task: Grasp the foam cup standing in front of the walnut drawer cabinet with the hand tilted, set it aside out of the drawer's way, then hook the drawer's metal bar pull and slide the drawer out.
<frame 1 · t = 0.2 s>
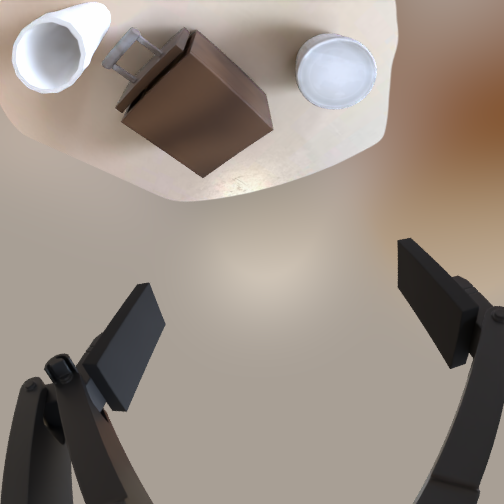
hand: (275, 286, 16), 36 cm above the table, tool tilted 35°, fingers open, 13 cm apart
ramekin: (327, 60, 38), on the table
foam cup: (90, 21, 29), on the table
cabinet: (201, 88, 41), on the table
drawer: (172, 83, 35), point 5 cm above the table, slide at 0.5 cm
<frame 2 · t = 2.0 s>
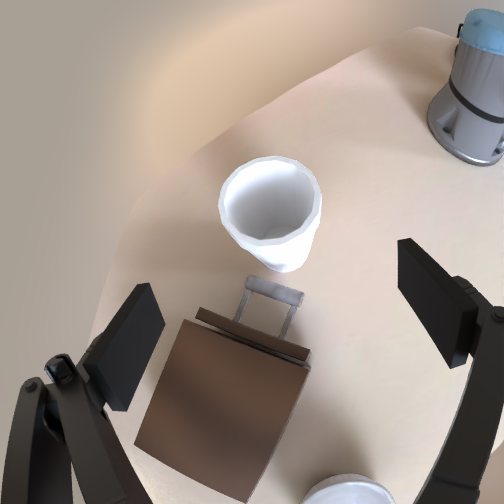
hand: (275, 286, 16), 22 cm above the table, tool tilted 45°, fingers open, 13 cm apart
ramekin: (342, 503, 27), on the table
foam cup: (284, 249, 40), on the table
cabinet: (238, 404, 34), on the table
drawer: (244, 368, 31), point 5 cm above the table, slide at 0.5 cm
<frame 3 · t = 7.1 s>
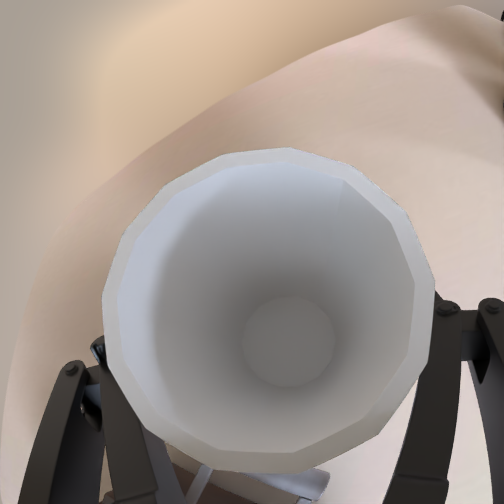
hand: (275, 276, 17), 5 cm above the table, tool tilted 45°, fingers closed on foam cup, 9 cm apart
foam cup: (289, 342, 20), on the table, touching gripper
when the fingers open (5 cm above the table, at t = 14.6 s): foam cup stays where it is, on the table.
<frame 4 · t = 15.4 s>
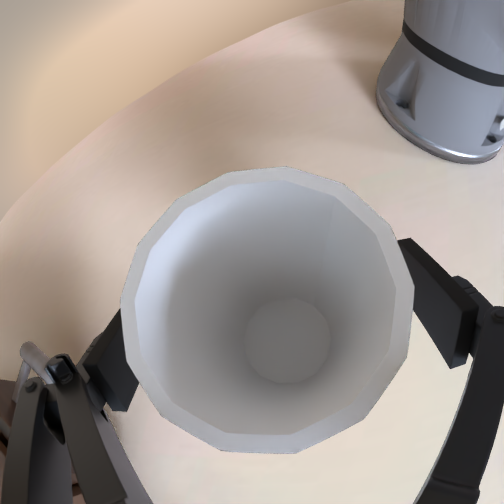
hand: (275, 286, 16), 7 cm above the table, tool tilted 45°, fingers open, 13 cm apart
foam cup: (287, 341, 21), on the table
cabinet: (58, 486, 19), on the table
drawer: (32, 458, 16), point 5 cm above the table, slide at 0.5 cm
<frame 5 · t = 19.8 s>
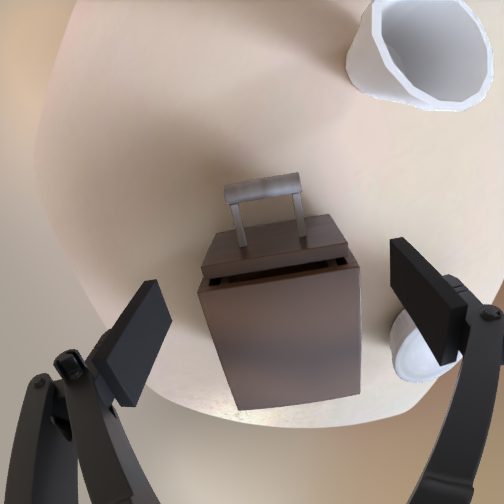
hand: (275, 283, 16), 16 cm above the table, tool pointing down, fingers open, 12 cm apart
ramekin: (420, 324, 36), on the table
foam cup: (375, 68, 25), on the table
cabinet: (285, 297, 35), on the table
drawer: (280, 278, 29), point 5 cm above the table, slide at 0.5 cm
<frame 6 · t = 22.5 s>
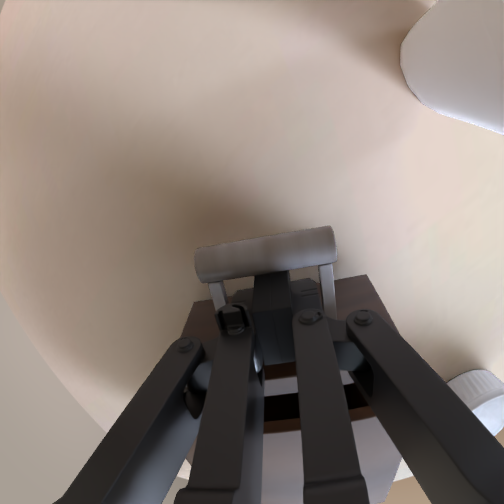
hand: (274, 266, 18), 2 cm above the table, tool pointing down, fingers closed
ramekin: (456, 397, 26), on the table
foam cup: (440, 68, 15), on the table
cabinet: (297, 386, 25), on the table
drawer: (291, 377, 18), point 5 cm above the table, slide at 1.8 cm, touching gripper
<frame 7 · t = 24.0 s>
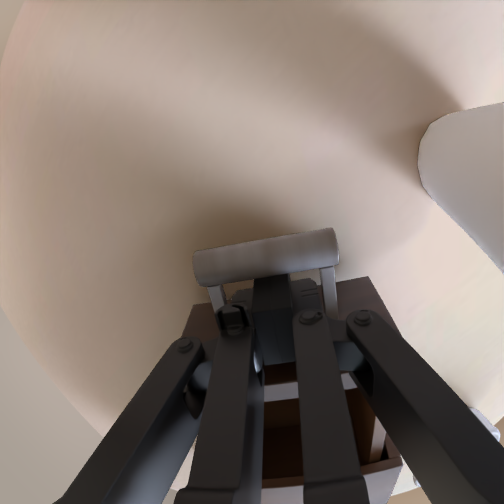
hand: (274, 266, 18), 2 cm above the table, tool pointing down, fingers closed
foam cup: (455, 161, 17), on the table
cabinet: (305, 429, 27), on the table
drawer: (292, 381, 18), point 5 cm above the table, slide at 8.1 cm
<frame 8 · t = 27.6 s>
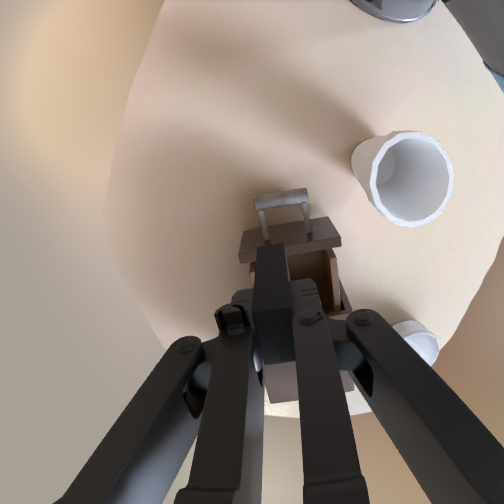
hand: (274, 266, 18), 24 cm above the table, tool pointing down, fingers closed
ramekin: (400, 339, 49), on the table
foam cup: (372, 162, 38), on the table
cabinet: (302, 323, 48), on the table
drawer: (292, 263, 39), point 5 cm above the table, slide at 8.3 cm
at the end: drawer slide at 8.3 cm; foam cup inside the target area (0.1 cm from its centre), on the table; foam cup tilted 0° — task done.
